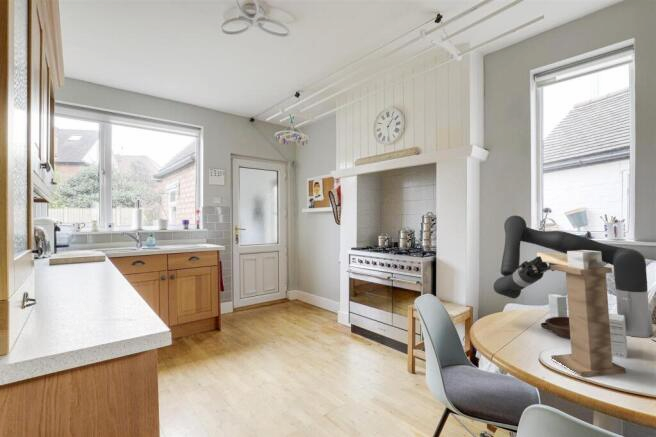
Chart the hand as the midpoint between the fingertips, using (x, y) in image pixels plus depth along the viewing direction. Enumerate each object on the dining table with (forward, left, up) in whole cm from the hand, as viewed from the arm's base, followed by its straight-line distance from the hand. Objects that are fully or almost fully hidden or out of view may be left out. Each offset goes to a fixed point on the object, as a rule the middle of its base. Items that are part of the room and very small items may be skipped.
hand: (552, 257), depth 115 cm
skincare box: (-24, -30, -34) cm, 51 cm away
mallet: (0, +5, -2) cm, 6 cm away
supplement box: (-17, +3, -34) cm, 38 cm away
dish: (-18, -15, -34) cm, 41 cm away
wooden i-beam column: (0, +11, -34) cm, 35 cm away
